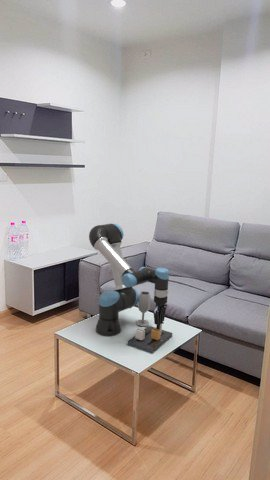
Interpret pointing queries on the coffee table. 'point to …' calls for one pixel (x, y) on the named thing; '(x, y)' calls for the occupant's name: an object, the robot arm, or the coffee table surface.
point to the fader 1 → (140, 334)
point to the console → (150, 341)
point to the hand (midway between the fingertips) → (158, 334)
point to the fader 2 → (155, 334)
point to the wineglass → (143, 307)
